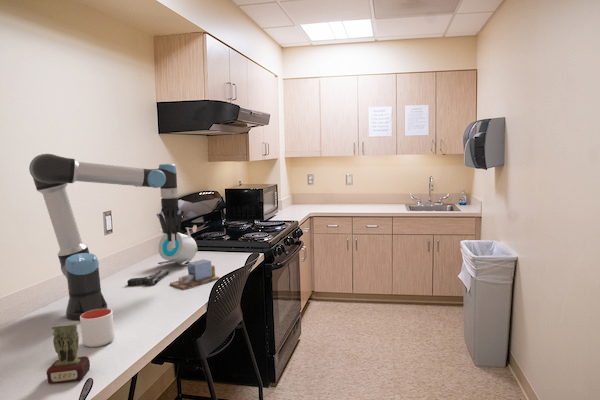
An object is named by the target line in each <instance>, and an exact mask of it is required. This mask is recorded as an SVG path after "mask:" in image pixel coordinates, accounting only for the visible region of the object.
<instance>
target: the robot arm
mask: <svg viewBox="0 0 600 400" xmlns="http://www.w3.org/2000/svg"><path fill="white" fill-rule="evenodd" d="M29 173H30V176H31V177H32V180H33V183H34V185H35V189H36V192H38V193H40V194H42V197H43V200H44V204H45V206H46V209H47V213H48V216H49V218H50V221H51V225H52V228H53V231H54V234H55V238H56V241H57V244H58V247H59V251H58V252H57V257H58V260H59V264H60V270H61V272H62V274H63V276H65V278H66V282H67V289H68V301H67V306H66V310H65V316H66V318H67V319H68V320H69V321H70V320H71V321H80V316H81V315H82V314H83V313H85V312H88V311H91V310H96V309H109V308H108V303H107V301H106V299H105V297H104V295H103V293H102V288H101V277H100V268H99V266H100V263H99V260H98V257H97V255H96V254H93V253H90V251H89V248H88V245H87V244H85V243H83V241H82V238H81V235H80V231H79V228H78V224H77V221H76V218H75V215H74V212H73V208H72V206H71V203H70V199H69V196H68V193H67V187H68V185H69V184H74V183H76V182H84V183H96V184H108V185H120V186H121V185H122V186H132V187H133V186H134V187H136V188H137V187H140V188H141V187H142V188H143V187H144V188H146V187H147V188H154V189H158V188H159V189H160V197H161V201H160V204H161V205H160V206H161V211H160V212H159V213H156V217H157V218H158V219H159V223H160V228H161V230H162V231H163V232H162V233H163V234H164V233H165V234H167V238H168V241H169V245H170V248H176V247H175V240H176V234H177V232H178V233H180V232H181V225H182V219H183V215H184V213H185V212H184V210H181V209H180V207H179V197H178V195H179V194H178V176H177V174H178V173H177V167H176V164H174V163H161V164H159V165H158V168H143V167H142V168H141V167H133V166H132V167H131V166H123V165H111V164H101V163H93V162H83V161H77V160H76V159H75V158H70V157H64V156H60V155H56V154H51V153H42V154H38V155H37V156H35V157H33V159H32V160H31V161H30V164H29ZM165 234H164V235H165Z"/></svg>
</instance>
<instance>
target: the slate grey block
mask: <svg viewBox="0 0 600 400" xmlns="http://www.w3.org/2000/svg"><path fill="white" fill-rule="evenodd" d="M187 264H188V265H187V272H188V273H187V275H189V274H194V277H195V282H197V281H201V280H204V279H208V278H211V277H212V269H211V265H212V261H211V260H208V259H204V258H203V259H199V260H195V261H192V262H191V261H190V262H187Z"/></svg>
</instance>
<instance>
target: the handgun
mask: <svg viewBox="0 0 600 400" xmlns="http://www.w3.org/2000/svg"><path fill="white" fill-rule="evenodd" d="M169 273H170V271H169V270H168V269H163V270H159V271H158V272H155V273H154V274H151V275H148V276H142V277H133V278H129V279H128V280H127V287H134V286H135V287H136V286H142V285H146V286H154V285H155V284H157V283H158V282H159V281H160V280H161V278H162V279H164V277H166V276H167V275H169Z"/></svg>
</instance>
